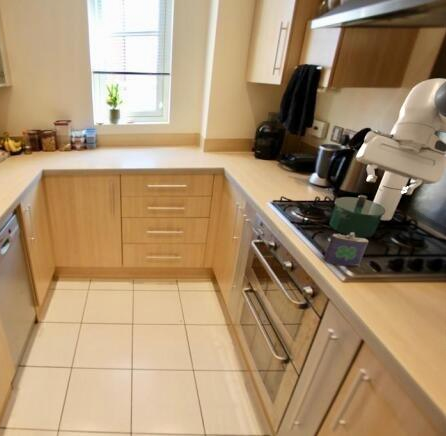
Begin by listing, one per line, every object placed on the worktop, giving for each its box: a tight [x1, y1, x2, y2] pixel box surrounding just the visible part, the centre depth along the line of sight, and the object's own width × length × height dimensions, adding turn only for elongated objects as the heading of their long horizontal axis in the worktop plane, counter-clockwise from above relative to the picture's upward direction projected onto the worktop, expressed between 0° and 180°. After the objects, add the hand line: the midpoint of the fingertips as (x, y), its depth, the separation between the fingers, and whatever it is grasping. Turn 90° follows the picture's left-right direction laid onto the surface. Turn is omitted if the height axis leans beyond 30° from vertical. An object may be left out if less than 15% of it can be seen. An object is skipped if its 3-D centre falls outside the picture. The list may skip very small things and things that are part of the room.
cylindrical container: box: [372, 170, 410, 221], centre depth 116 cm, size 7×7×25 cm
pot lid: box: [334, 194, 385, 216], centre depth 110 cm, size 15×15×5 cm
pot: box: [329, 203, 382, 238], centre depth 113 cm, size 14×19×8 cm
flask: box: [323, 232, 369, 268], centre depth 93 cm, size 9×3×11 cm, turn 68°
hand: (388, 187), depth 86 cm, fingers open, 8 cm apart
